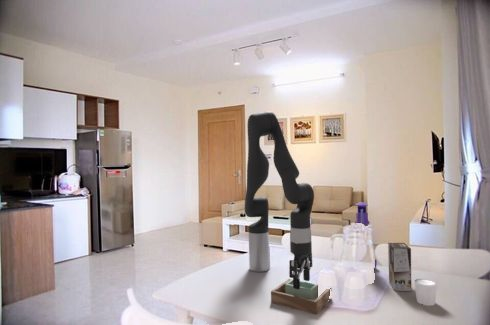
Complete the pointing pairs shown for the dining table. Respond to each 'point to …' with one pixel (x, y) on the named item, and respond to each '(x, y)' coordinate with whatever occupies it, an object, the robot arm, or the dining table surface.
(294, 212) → the robot arm
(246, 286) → the dining table surface
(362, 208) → the lantern
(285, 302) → the walnut crate
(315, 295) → the sage crate
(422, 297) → the white cup
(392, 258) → the coffee box
